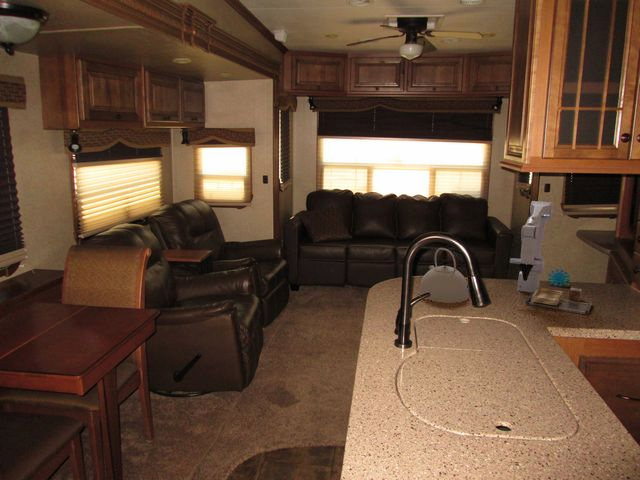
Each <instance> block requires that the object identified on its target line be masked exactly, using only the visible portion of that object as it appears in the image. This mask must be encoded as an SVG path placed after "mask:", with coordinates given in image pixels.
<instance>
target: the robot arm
mask: <svg viewBox="0 0 640 480" xmlns="http://www.w3.org/2000/svg"><path fill="white" fill-rule="evenodd" d="M554 206H555V205H554V203H553V201H551V202H550V201H549V202H548V201H536V200H532V201H531V202H530V206H529V212H530V216H529V217H528V218H527V220H526V222H525V224H524V225H522V227H521V233H520V236H521V239H520V240H521V249H520V258H513V257H511V258H510V259H509V263H510V264H518V265H519V268H520V271H519V273H518V278H517V279H518V280H517V288H516V290H517V291H519V292H524V293H525V292H526V293H530V294H532V292H536V290H537V289H538V288H540V280H541V279H540V278H541V274H543V273H544V271H545V266H546V265H545V264H546V259H545V256H543V255H542V254H541V250H542V245H543V239H544V234H545V229H546V226H547V223H548V222H551V221H552V218H553V212H554V208H555V207H554Z"/></svg>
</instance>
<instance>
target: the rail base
mask: <svg viewBox="0 0 640 480" xmlns="http://www.w3.org/2000/svg"><path fill="white" fill-rule="evenodd" d="M534 293H535V292H532V293H530V295H529V296H528V297H527V299H526V300H525V305H528V306H533V307H538V308H544V309H549V310H556V311H559V312H561V311H562V312H568V313H573V314H578V315H583V316H589V313H590V310H591V308H592V306H593V300H592V301H591V300H589V302H581V301H580V302H577V301H571V300H569V299H562V298H561V300H560V301H559V303H558V305H557V306H555V305H554V306H552V305H550V304H544V303H538V302H537V303H535V302H532V301H531V296H532V295H533V294H534Z"/></svg>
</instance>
